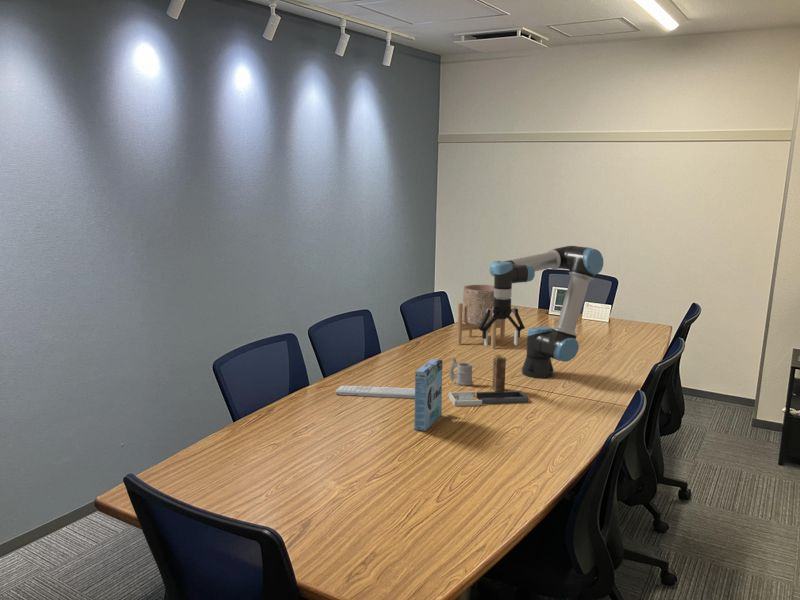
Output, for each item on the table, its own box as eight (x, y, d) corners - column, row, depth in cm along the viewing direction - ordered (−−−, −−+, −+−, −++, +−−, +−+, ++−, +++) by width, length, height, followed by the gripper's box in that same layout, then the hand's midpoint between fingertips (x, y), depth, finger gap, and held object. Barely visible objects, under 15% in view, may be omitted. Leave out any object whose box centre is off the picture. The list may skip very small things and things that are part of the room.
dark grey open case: (520, 397, 291) (521, 390, 290) (528, 404, 281) (528, 397, 281) (476, 398, 288) (476, 392, 287) (482, 406, 278) (482, 399, 278)
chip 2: (470, 400, 284) (470, 392, 284) (472, 403, 280) (473, 395, 280) (463, 400, 284) (463, 392, 283) (465, 403, 280) (466, 395, 279)
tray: (474, 397, 289) (474, 391, 288) (481, 407, 277) (482, 400, 276) (448, 398, 287) (448, 392, 286) (454, 408, 275) (455, 401, 275)
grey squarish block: (463, 400, 284) (463, 392, 283) (465, 403, 280) (466, 395, 279) (456, 400, 283) (456, 392, 283) (458, 403, 279) (459, 395, 279)
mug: (467, 389, 301) (468, 363, 298) (445, 384, 307) (445, 358, 305) (475, 384, 307) (476, 359, 304) (453, 380, 313) (454, 355, 311)
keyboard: (437, 391, 298) (438, 386, 297) (436, 401, 286) (437, 395, 285) (340, 387, 302) (340, 382, 301) (335, 396, 289) (335, 390, 289)
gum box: (425, 431, 250) (427, 372, 246) (413, 429, 252) (414, 371, 247) (442, 414, 268) (443, 359, 263) (430, 413, 269) (431, 358, 265)
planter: (494, 349, 371) (496, 292, 365) (456, 344, 380) (457, 289, 374) (505, 340, 391) (507, 286, 385) (468, 336, 400) (469, 283, 394)
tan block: (500, 390, 299) (502, 354, 296) (504, 394, 294) (506, 357, 291) (492, 390, 299) (493, 354, 295) (495, 394, 294) (497, 357, 291)
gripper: (527, 295, 294) (525, 342, 298) (472, 296, 290) (471, 344, 294) (533, 298, 287) (531, 346, 291) (476, 300, 283) (475, 348, 287)
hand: (500, 345), depth 293 cm, fingers open, 13 cm apart
